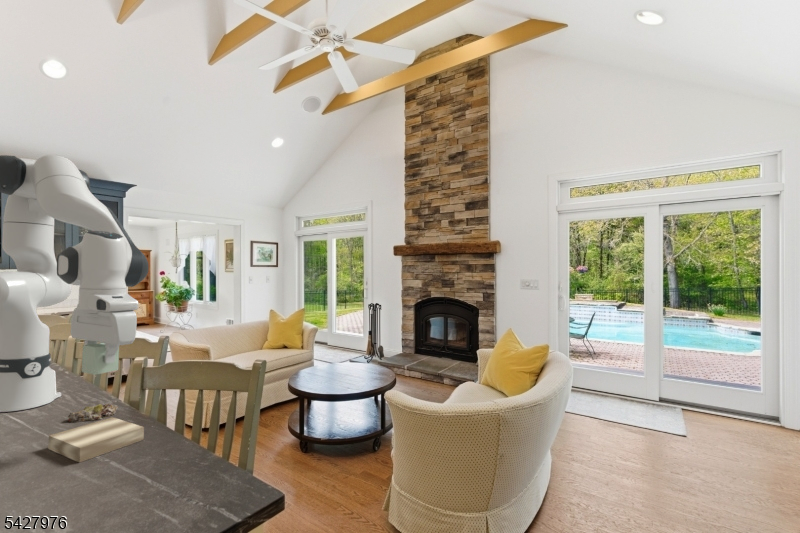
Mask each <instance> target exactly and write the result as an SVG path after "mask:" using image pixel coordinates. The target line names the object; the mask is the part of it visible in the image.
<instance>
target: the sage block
mask: <svg viewBox="0 0 800 533" xmlns="http://www.w3.org/2000/svg"><path fill="white" fill-rule="evenodd" d="M106 349H107V348H105V343H100V342H98V343H97V344H90V345H83V344H82V354H81V355H82V356H81V357H82V362H81V373H84V374H85V373H86V374H89V375H93V376H95V375H100V374H105V373H111V372H116V371H119V360H120V358H119V357H120V347H119V348H118V350H117V352H116V354H115V361H114V362H113V363H104V362H103V355H105V352H106Z"/></svg>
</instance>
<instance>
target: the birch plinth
mask: <svg viewBox="0 0 800 533" xmlns="http://www.w3.org/2000/svg"><path fill="white" fill-rule="evenodd" d="M144 440H145V426H142V425H139V424H135V423H133V422H129V421H127V420H124V419H123V420H122V419H119V418H117V417H113V416H111V417H108V418H104V419H101V420H97V421H95V422H91V423H87V424H83V425H81V426H76V427H74V428H70V429H67V430H64V431H59V432H55V433H53V434H48V443H47V444H48V445H47V447H48V448H47V449H48V450H49V451H52V452H54V453H57V454H59V455H62V456H63V457H66V458H68V459H70V460H73V461H75V462H78V463H82V462H85V461H88V460H91V459H93V458H96V457H99V456H102V455H104V454H108V453H110V452H113V451H116V450H119V449H121V448H125V447H128V446H131V445H132V444H133V445H134V444H135V443H138V442H141V441H144Z"/></svg>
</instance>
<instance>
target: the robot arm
mask: <svg viewBox="0 0 800 533" xmlns="http://www.w3.org/2000/svg"><path fill="white" fill-rule="evenodd" d="M0 193H1V194H4V195H7V196H8V197H7V199H6V204H5V207H4V212H3V222H2V244H1V247H2V250H3V252H5V254H6V255H8V256H9V257H11V259H12V260H13V262H14V263H15V264H14V265H15V267H16V270H15V271H14V270H10V271H9V270H7V271H6V270H5V271H4V270H3V271H0V413H6V412H16V411H23V410H29V409H33V408H38V407H41V406H44V405H47V404H50V403H52V402H53V401H55V399H57V398H60V397H62V392H60V391H57V379H56V376H57V375H56V371H55V370H54V369H52V368H51V367H50V366H51V361H52V355H51V353H50V336H51V335H50V334H51V333H50V332H51V330H50V327H49V326H48V325H47V324H46V323H44V322H42V321H41V319H40V316H39V315H38V312H37V308H46V307H51V306H55V305H56V304H59V303H60V304H61V303H62V302H64V301H66V300H67V299H68V298H69V297H70V295H71V292H72V286H79V288H78V303H77V306H76V307H75V308H74V310H73V311H72V317H71V323H70V335H71V337H72V339H76V340H77V339H78V340H84V342H83V343H84V345H90V344H98V343H105V348H107V349H106V352H105V355H103V362H104V363H113V362H114V361H115V354H116V352H117V350H118V348H119V349H120V346H125V345H131V344H133V343H134V341H135V339H136V336H137V325H138V324H137V322H138V320H137V319H138V317H137V314H136V311H137V310H138V309H139V301H138V300H137V299H136V298H134V297H133V296H132V295H131V294H129V293H127V287H129V288H134V287H135V286H137V285H139V284H140V283H141V282H142V281H143V280H144V279H145V278H146V277H147V276H148V274H149V261H148V259H147V257H146V256H145V254H144V253H143V252H142V251H141V250H140V248H139V247H137V246H136V245H135V243H134V242H133V240H132V239H131V237H130V235H129V234H128V232H127V231H126V229H125V227H124V226H123V224H122V223H121V221H120V220H119V219H118V217H117V216H116V214H115V212H114V211H113V210H112V209H111V208H110V207H108V206H107V205H105V204H104V203H103V202H101V201H100V200H99V199H98V198H97V197H96V196H94V194H93V193H92V192H91V180H90V177H89V175H88V174H87V173H86V171H84V170H82V169H79V168H78V167H77V166H76V164H75V163H74V162H73V161H72V160H70V159H69V158H67V157H65V156H62V155H57V154H48V155H47V154H46V155H44V156H41V157H39V158H38V159H33V158H25V157H18V156H16V155H5V154H4V155H0ZM55 220H56V221H59V222H62V223H66V224H69V225H70V224H71V225H74V226H77V227H81V228H83V229H87V230H88V231H86V232H85V233H84V234H83V237H82V240H81V242H79V243H76V244H75V245H73V246H68V247H66V248H65V249H64V250H62V251H60V253H58V255H57V258H56V255H55ZM89 230H90V231H89Z"/></svg>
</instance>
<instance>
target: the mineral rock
mask: <svg viewBox="0 0 800 533" xmlns="http://www.w3.org/2000/svg"><path fill="white" fill-rule="evenodd" d="M118 408H119V407H118V405H116V404H115V405H114V404H113V403H106V404H102V403H99V404H96V405H94V406H85V407H84V408H83V409H82V410H79V411H77V412H70V414H68V415H67V417H68V419H67V421H68V422H70V423H71V422H72V423H81V422H88V421H95V422H96V421H101V420H104V419H107V418H106V417H108V418H110V417H111V416H110V415H112V416H114V415H115V414H116V413H118V412H117V410H118ZM113 414H114V415H113ZM103 418H104V419H103ZM100 419H101V420H100Z"/></svg>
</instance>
